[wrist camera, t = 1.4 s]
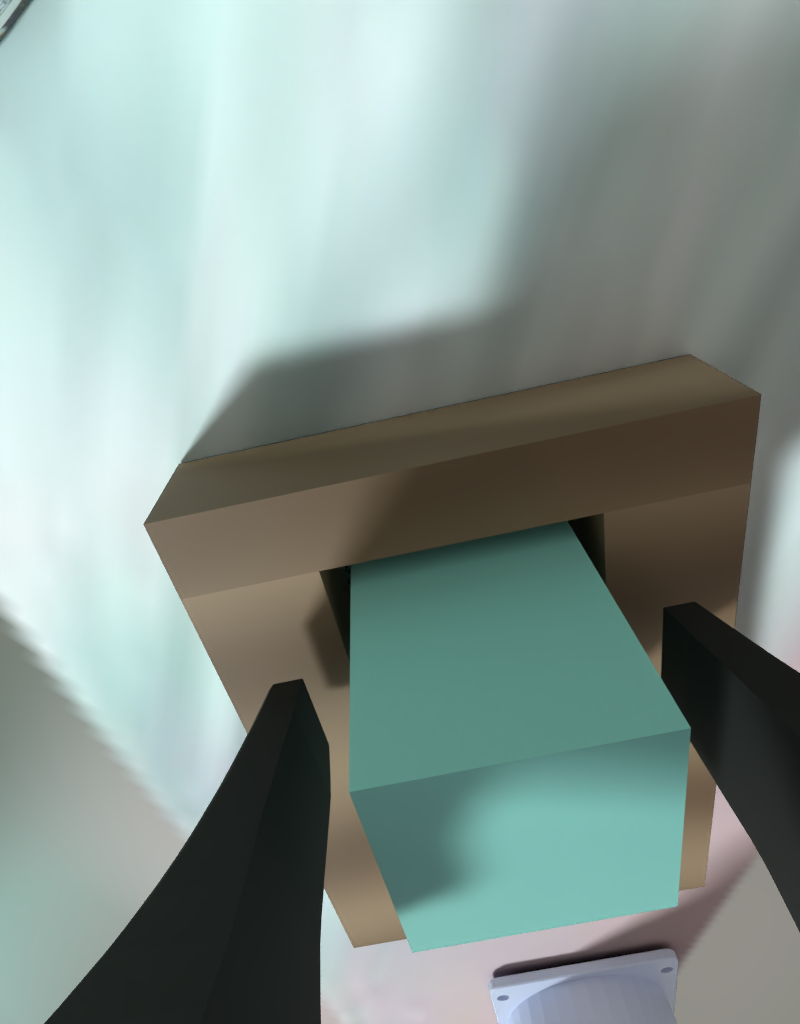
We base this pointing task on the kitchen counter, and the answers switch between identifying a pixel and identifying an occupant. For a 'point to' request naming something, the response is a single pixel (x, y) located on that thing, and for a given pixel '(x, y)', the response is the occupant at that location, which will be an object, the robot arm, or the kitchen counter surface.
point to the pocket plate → (453, 519)
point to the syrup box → (10, 13)
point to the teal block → (510, 741)
